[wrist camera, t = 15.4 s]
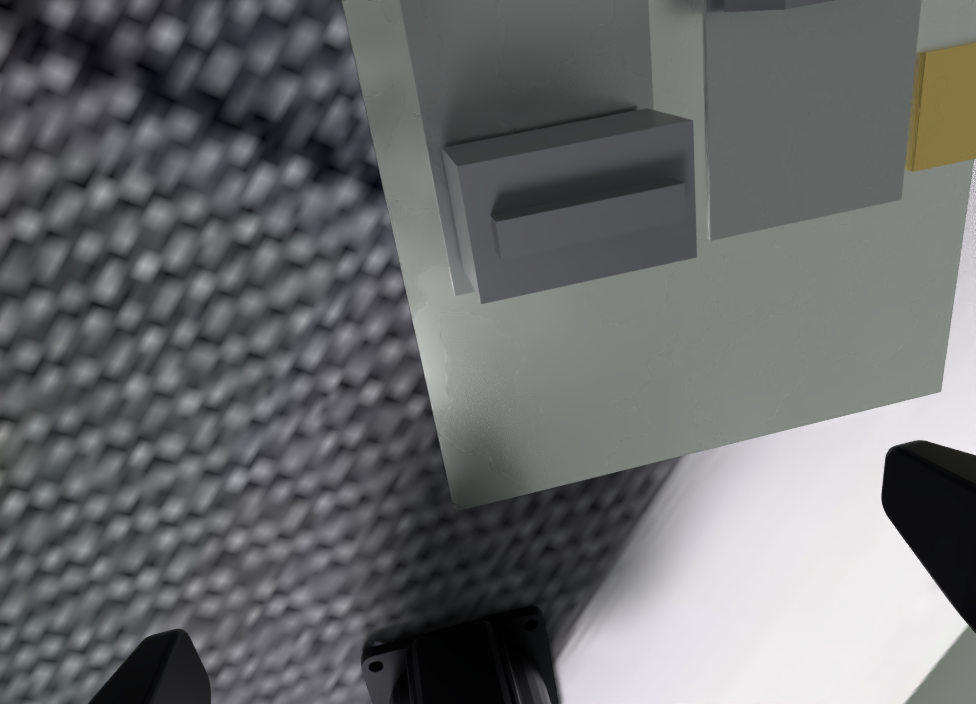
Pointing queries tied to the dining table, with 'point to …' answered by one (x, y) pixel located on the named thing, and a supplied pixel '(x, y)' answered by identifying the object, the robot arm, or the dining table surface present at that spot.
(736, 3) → the toggle
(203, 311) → the dining table surface
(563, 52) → the panel
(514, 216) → the toggle
